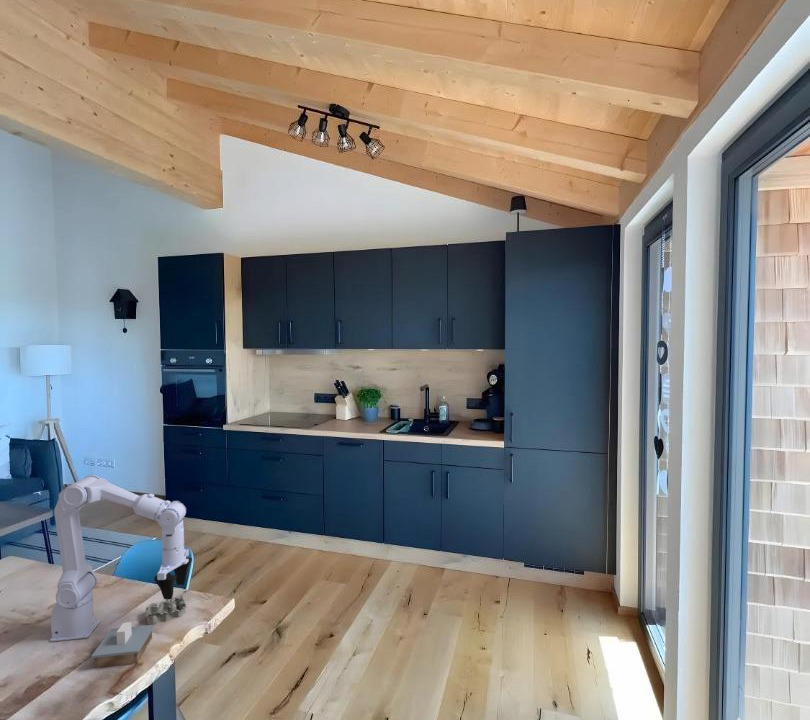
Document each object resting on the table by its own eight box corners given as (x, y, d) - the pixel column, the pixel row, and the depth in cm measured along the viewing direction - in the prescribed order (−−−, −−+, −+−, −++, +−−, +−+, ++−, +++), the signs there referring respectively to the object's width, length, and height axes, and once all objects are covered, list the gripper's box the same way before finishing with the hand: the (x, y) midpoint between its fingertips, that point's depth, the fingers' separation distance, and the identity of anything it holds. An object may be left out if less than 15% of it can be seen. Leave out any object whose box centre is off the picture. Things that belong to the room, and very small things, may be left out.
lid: (91, 658, 118) (90, 642, 117) (111, 630, 128) (111, 616, 128) (138, 653, 119) (137, 638, 119) (154, 626, 130) (153, 612, 130)
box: (95, 667, 118) (94, 656, 118) (113, 642, 128) (112, 631, 128) (137, 663, 120) (137, 652, 120) (152, 638, 130) (151, 628, 130)
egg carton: (146, 628, 135) (146, 615, 134) (145, 615, 141) (144, 602, 141) (187, 616, 140) (186, 603, 140) (183, 604, 147) (183, 591, 146)
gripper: (174, 557, 127) (176, 605, 128) (198, 534, 142) (199, 578, 143) (149, 557, 127) (150, 605, 128) (174, 535, 142) (176, 578, 143)
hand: (174, 591), depth 135 cm, fingers open, 7 cm apart
